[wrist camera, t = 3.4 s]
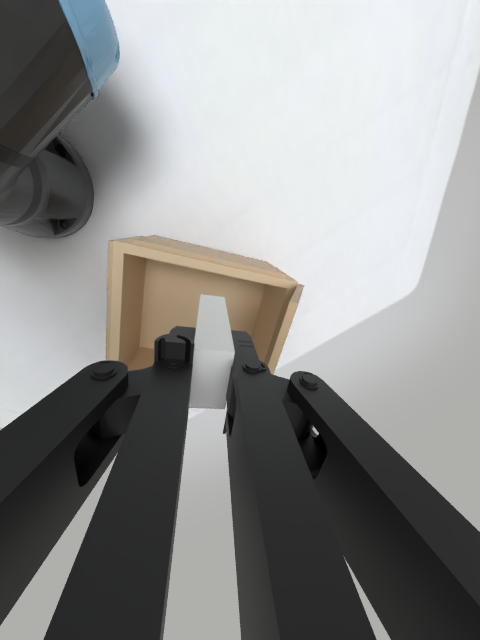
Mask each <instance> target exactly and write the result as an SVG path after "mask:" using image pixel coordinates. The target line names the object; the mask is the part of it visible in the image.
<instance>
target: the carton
mask: <svg viewBox="0 0 480 640" xmlns="http://www.w3.org/2000/svg"><path fill="white" fill-rule="evenodd" d="M297 285H298V282H297V281H296V280H294V279H293V278H291V277H290V276H288V275H287V274H285V273H284V272H282V271H281V270H279V269H278V268H276V267H274V266H272V265H271V264H269V263H268V262H265V261H260V260H256V259H252V258H248V257H244V256H239V255H235V254H231V253H227V252H223V251H218V250H214V249H210V248H206V247H202V246H197V245H193V244H189V243H185V242H181V241H177V240H172V239H168V238H164V237H160V236H156V235H153V236H147V237H145V236H137V237H130V238H124V239H117V240H111V241H109V243H108V286H107V329H106V360H113V361H119V362H122V363H124V364H125V365H126V366H127V367H128V371H133V370H140V369H144V368H148V367H150V366H152V365H153V363H154V341H155V340H156V339H157V338H158V337H160V336H162V335H165V334H169V333H170V330H171V329H173V328H174V327H176V326H183V327H194V328H196V325H197V318H198V310H199V303H200V295H201V294H203V295H211V296H220V297H225V302H226V307H227V313H228V318H229V323H230V329H231V330H235V331H245V332H247V333H248V334H249V335H250V336H251V338H252V341H253V344H254V347H255V349H256V352H257V355H258V358H259V360H260V361H262V362H263V363H265V364H266V365H267V366H268V364H269V361H270V358H271V355H272V352H273V350H274V347H275V344H276V341H277V338H278V335H279V332H280V329H281V326H282V323H283V320H284V317H285V314H286V311H287V308H288V305H289V302H290V300H291V298H292V296H293V294H294V292H295V290H296V288H297ZM226 401H227V400H226Z"/></svg>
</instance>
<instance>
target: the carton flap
mask: <svg viewBox="0 0 480 640" xmlns="http://www.w3.org/2000/svg"><path fill="white" fill-rule="evenodd" d="M303 288H304V285H301V284H298V286H297V288H296V290H295V292H294V294H293V296H292V298H291V300H290V302H289V305H288V308H287V311H286V314H285V317H284V320H283V323H282V326H281V329H280V332H279V335H278V338H277V341H276V344H275V347H274V350H273V352H272V355H271V358H270V361H269V364H268V368H269V369H270V372H271V374H274V371H275V368H276V366H277V363H278V360H279V357H280V354H281V351H282V349H283V346H284V343H285V340H286V337H287V334H288V332H289V329H290V326H291V323H292V320H293V317H294V315H295V312H296V309H297V306H298V303H299V300H300V297H301V294H302V291H303Z"/></svg>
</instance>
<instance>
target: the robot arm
mask: <svg viewBox="0 0 480 640" xmlns="http://www.w3.org/2000/svg"><path fill="white" fill-rule="evenodd" d="M119 57H120V51H119V42H118V38H117V33H116V29H115V26H114V23H113V20H112V17H111V15H110V12H109V9H108V7H107V4H106V2H105V0H0V225H1V226H4V227H6V228H9V229H12V230H14V231H17V232H20V233H23V234H26V235H30V236H34V237H42V238H51V237H62V236H66V235H69V234H72V233H74V232H76V231H77V230H79V229H80V228H81V227H82V226H83V225H84V224H85V223H86V221H87V220H88V218H89V216H90V213H91V210H92V206H93V187H92V183H91V179H90V176H89V173H88V171H87V168H86V166H85V164H84V162H83V161H82V159H81V158H80V156H79V155H78V153H77V152H76V151H75V149H74V148H73V147H72V146H71V145H70V144H69V143H68V142H67V141H66V140H65V139H64V138H63V137H62V136H61V135H59V133H60V132H61V131H62V130H63V129H64V128H65V126H66V125H67V124H68V123H69V122H70V121H71V120H72V119H73V118H74V117H75V116H76V115H77V114H78V113H79V112H80V111H81V110H82V108H83V107H84V106H85V105H86V104H87V103H88V102H89V101H90V100H91V99H93V100H95V99H96V98H97V96H98V90H99V89H100V88H101V86H102V85H103V84H104V83H105V81H106V80H107V79H108V78H109V77H110V75H111V74H112V73H113V72H114V71H115V69H116V68H117V65H118V62H119ZM226 400H227V413H226V419H225V425H224V430H223V434H225V433H227V448H228V462H229V476H230V490H231V503H232V516H233V531H234V545H235V559H236V571H237V586H238V600H239V613H240V627H241V640H376V637H375V635H374V632H373V630H372V627H371V625H370V622H369V620H368V617H367V615H366V612H365V610H364V607H363V604H362V602H361V599H360V597H359V594H358V592H357V589H356V587H355V584H354V582H353V579H352V577H351V574H350V572H349V569H348V566H347V564H346V562H345V559H346V561H347V563H348V564H349V566H350V568H351V569H352V571H353V573H354V575H355V577H356V579H357V580H358V582H359V584H360V585H361V587H362V589H363V591H364V593H365V594H366V596H367V598H368V600H369V601H370V603H371V605H372V607H373V608H374V610H375V612H376V614H377V616H378V617H379V619H380V621H381V623H382V624H383V626H384V628H385V630H386V631H387V633H388V635H389V637H390V638H391V640H480V532H479V531H478V530H477V529H476V528H475V527H474V526H473V525H472V524H471V523H470V522H469V521H468V520H466V519H465V518H464V516H462V515H461V514H460V513H459V512H458V511H457V510H456V509H455V508H454V507H453V506H452V505H451V504H450V503H449V502H448V501H447V500H446V499H445V498H444V497H443V496H442V495H441V494H440V493H439V492H438V491H437V490H436V489H435V488H434V487H432V485H431V484H429V483H428V482H427V481H426V480H425V479H424V478H423V477H422V476H421V475H420V474H419V473H418V472H417V471H416V470H415V469H414V468H413V467H412V466H411V465H410V464H409V463H408V462H407V461H406V460H405V459H404V458H403V457H402V456H400V454H398V453H397V452H396V451H395V450H394V449H393V448H392V447H391V446H390V445H389V444H388V443H387V442H386V441H385V440H384V439H383V438H382V437H381V436H380V435H379V434H378V433H377V432H376V431H375V430H374V429H373V428H372V427H371V426H369V424H368V423H366V422H365V421H364V420H363V419H362V418H361V417H360V416H359V415H358V414H357V413H356V412H355V411H354V410H353V409H352V408H351V407H350V406H349V405H348V404H347V403H346V402H345V401H344V400H343V399H342V398H341V397H339V396H338V394H336V393H335V392H334V391H333V390H332V389H331V388H330V387H329V386H328V385H327V384H326V383H325V382H324V381H323V380H322V379H320V378H319V377H318V376H316V375H313V374H312V373H309V372H303V371H298V372H294V373H293V374H292V375H291V377H290V380H289V379H285V378H282V377H278V376H275V375H273V374H271V372H270V369H269V368H268V366H267V365H266V364H265V363H263V362H262V361H260V360H259V358H258V355H257V352H256V349H255V347H254V344H253V341H252V338H251V336H250V335H249V334H248V333H247V332H245V331H235V330H231V329H230V323H229V318H228V313H227V307H226V302H225V297H220V296H211V295H203V294H201V295H200V303H199V310H198V318H197V325H196V328H194V327H183V326H176V327H174V328H173V329H171V330H170V333H169V334H165V335H162V336H160V337H158V338H157V339H156V340H155V341H154V363H153V365H152V366H150V367H148V368H144V369H140V370H133V371H128V367H127V366H126V365H125V364H124V363H122V362H119V361H113V360H106V361H100V362H96V363H93V364H91V365H89V366H87V367H85V368H84V369H82V370H81V371H80V372H78V373H77V374H76V375H74V376H73V377H72V378H70V379H69V380H68V381H66V382H65V383H63V384H62V385H61V386H59V387H58V388H57V389H55V390H54V391H53V392H51V393H50V394H49V395H47V396H46V397H45V398H43V399H42V400H41V401H39V402H38V403H37V404H35V405H34V406H33V407H31V408H30V409H29V410H27V411H26V412H25V413H23V414H22V415H20V416H19V417H18V418H16V419H15V420H14V421H12V422H11V423H10V424H8V425H7V426H6V427H4V428H3V429H2V430H0V625H1V624H2V622H3V621H4V619H5V618H6V617H7V615H8V614H9V612H10V611H11V609H12V608H13V606H14V605H15V603H16V602H17V600H18V599H19V597H20V596H21V594H22V593H23V591H24V590H25V588H26V587H27V586H28V584H29V583H30V581H31V580H32V578H33V577H34V575H35V574H36V572H37V571H38V569H39V568H40V566H41V565H42V563H43V562H44V560H45V559H46V558H47V556H48V554H49V553H50V551H51V550H52V549H53V547H54V546H55V544H56V543H57V541H58V540H59V538H60V537H61V535H62V534H63V532H64V531H65V529H66V528H67V527H68V525H69V524H70V522H71V521H72V519H73V518H74V516H75V515H76V513H77V512H78V510H79V509H80V507H81V506H82V504H83V503H84V501H85V500H86V499H87V497H88V495H89V494H90V493H91V491H92V489H93V488H94V487H95V485H96V484H97V482H98V481H99V479H100V478H101V476H102V475H103V473H104V472H105V470H106V469H107V468H108V466H109V464H110V463H111V462H112V460H113V459H114V457H115V456H116V454H117V453H118V454H117V456H116V459H115V461H114V464H113V466H112V469H111V471H110V474H109V476H108V479H107V481H106V484H105V486H104V489H103V491H102V494H101V496H100V499H99V502H98V504H97V507H96V509H95V512H94V514H93V517H92V519H91V522H90V524H89V527H88V529H87V532H86V534H85V537H84V539H83V542H82V544H81V547H80V549H79V552H78V554H77V557H76V559H75V562H74V564H73V567H72V569H71V572H70V574H69V577H68V579H67V582H66V584H65V587H64V589H63V592H62V594H61V597H60V600H59V602H58V605H57V607H56V610H55V612H54V615H53V617H52V620H51V622H50V625H49V627H48V630H47V632H46V635H45V637H44V640H163V633H164V624H165V615H166V607H167V598H168V589H169V580H170V571H171V562H172V553H173V544H174V535H175V526H176V517H177V509H178V500H179V490H180V482H181V473H182V464H183V455H184V445H185V438H186V429H187V420H188V409H189V408H213V409H225V406H226ZM313 426H314V427H315V428H316V430H317V431H318V432H319V435H316V434H315V433H314V431H313V430H312V428H313ZM344 557H345V559H344Z"/></svg>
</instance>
